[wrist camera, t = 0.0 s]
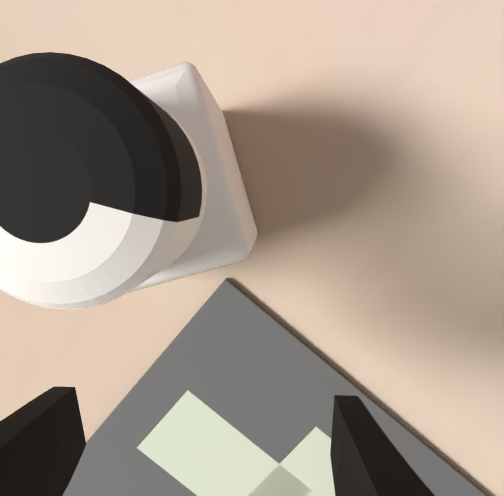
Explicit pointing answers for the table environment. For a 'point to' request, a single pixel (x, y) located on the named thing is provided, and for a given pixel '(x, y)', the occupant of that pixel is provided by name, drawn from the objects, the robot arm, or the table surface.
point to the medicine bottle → (112, 181)
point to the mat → (237, 417)
